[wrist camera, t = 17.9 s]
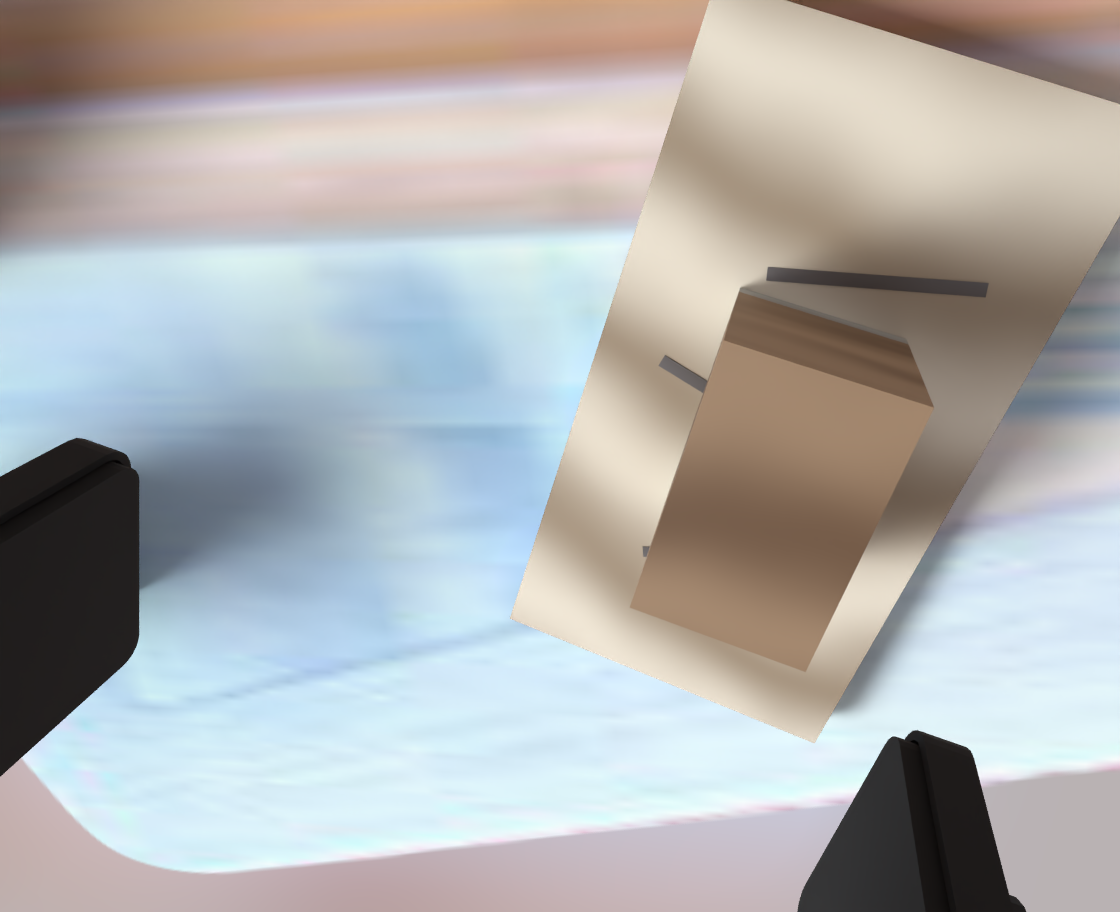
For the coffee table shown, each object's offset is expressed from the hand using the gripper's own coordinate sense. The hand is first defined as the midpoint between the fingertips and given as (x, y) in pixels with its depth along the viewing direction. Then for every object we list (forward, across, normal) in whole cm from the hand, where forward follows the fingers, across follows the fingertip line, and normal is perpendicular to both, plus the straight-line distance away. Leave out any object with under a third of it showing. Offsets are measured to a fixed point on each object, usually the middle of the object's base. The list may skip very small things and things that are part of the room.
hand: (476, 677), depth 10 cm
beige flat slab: (+20, -4, +3) cm, 20 cm away
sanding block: (+18, -4, +3) cm, 19 cm away
